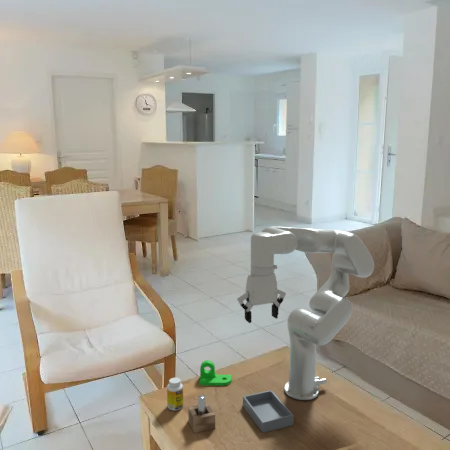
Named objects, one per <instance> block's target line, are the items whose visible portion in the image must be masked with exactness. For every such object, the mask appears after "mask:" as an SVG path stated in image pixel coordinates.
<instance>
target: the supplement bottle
mask: <svg viewBox="0 0 450 450" xmlns="http://www.w3.org/2000/svg"><path fill="white" fill-rule="evenodd" d="M166 393H167V395H166V396H167V397H166V398H167V399H166V400H167V408H168V410H170V411H174V412H175V411H176V412H177V411H180V410H182V408H183V407H184V385H183V383H182V381H181V378H180V377H172V378H170V379H169V380H168V384H167V385H166Z"/></svg>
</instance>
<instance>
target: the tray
mask: <svg viewBox="0 0 450 450" xmlns="http://www.w3.org/2000/svg"><path fill="white" fill-rule="evenodd" d="M242 407H243V408H244V409H245V411H246V413H248V414H249V416H250V418H251V419H252V420H253V422H254V423H255V425H256V427H258V429H259V430H260V432H261V433H268V432H271V431H275V430H279V429H283V428H286V427H291V426H294V413H292V411H291V410H290V409H289V408H288V407H287V406H286V404H284V402H283V401H282V400H281V399H280V398H279V397H278V395H277V394H275V392H274V390H272V389H270V390H267V391H261V392H255V393H251V394H247V395H243V396H242Z"/></svg>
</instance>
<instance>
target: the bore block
mask: <svg viewBox="0 0 450 450" xmlns="http://www.w3.org/2000/svg"><path fill="white" fill-rule="evenodd" d="M187 409H188V414H187V415H188V422H189V425H190V427H191V429H192V431H193V433H194V434H197V433H202V432H206V431H210V430H215V429H216V413H215V412H214V410H213V408H212V407H211V405H210V403H209V402H205V414H203V415H198V404H197V405H194V406H189V407H187Z"/></svg>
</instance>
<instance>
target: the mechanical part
mask: <svg viewBox="0 0 450 450" xmlns="http://www.w3.org/2000/svg"><path fill="white" fill-rule="evenodd" d="M205 368H210V369H209V370H206V369H205ZM199 370H200V371H199V373H200V376H199V377H200V378H199V386H222V387H223V386H228V385H230V384H231V383H232V374H217V373H216V367H215V364H214V362H213V361H211V360H209V359H208V360H204V361H202V362H201V365H200V369H199Z"/></svg>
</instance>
